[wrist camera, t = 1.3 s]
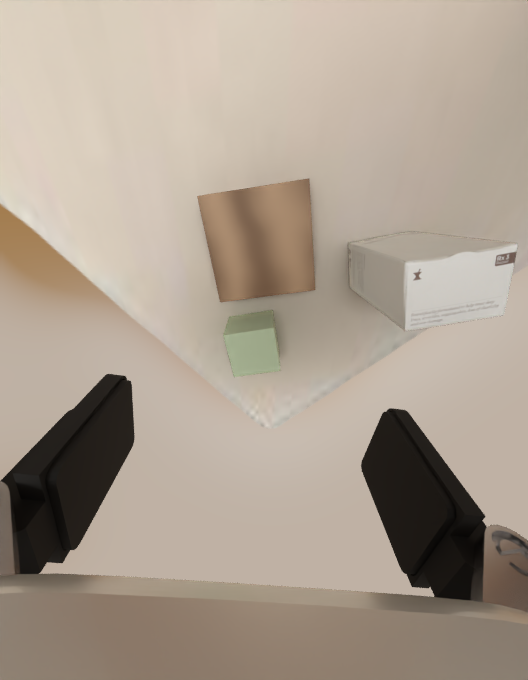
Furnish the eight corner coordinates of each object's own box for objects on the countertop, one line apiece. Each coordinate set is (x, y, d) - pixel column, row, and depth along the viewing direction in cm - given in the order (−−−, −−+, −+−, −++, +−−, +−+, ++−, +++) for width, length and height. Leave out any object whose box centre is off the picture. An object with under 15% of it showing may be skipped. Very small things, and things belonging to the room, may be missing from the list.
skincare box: (348, 287, 35) (397, 337, 22) (346, 239, 33) (401, 262, 20) (415, 276, 35) (506, 321, 21) (418, 226, 32) (526, 242, 19)
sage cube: (272, 309, 37) (273, 327, 32) (278, 348, 40) (280, 370, 34) (229, 316, 38) (223, 335, 32) (238, 354, 40) (234, 377, 35)
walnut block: (303, 182, 31) (309, 178, 26) (309, 279, 35) (315, 289, 31) (207, 197, 31) (197, 196, 27) (226, 290, 36) (220, 302, 32)
